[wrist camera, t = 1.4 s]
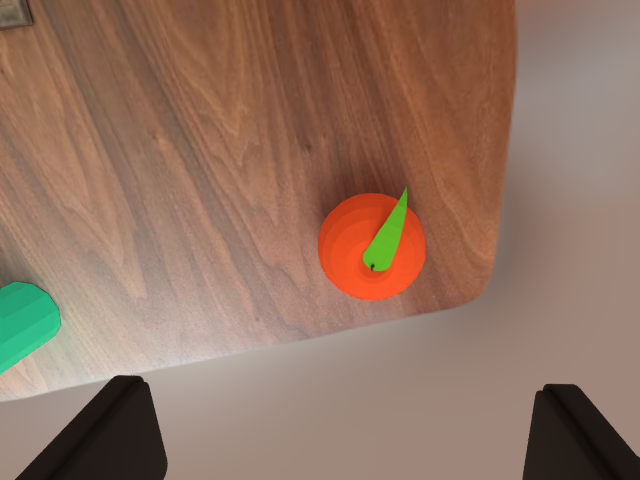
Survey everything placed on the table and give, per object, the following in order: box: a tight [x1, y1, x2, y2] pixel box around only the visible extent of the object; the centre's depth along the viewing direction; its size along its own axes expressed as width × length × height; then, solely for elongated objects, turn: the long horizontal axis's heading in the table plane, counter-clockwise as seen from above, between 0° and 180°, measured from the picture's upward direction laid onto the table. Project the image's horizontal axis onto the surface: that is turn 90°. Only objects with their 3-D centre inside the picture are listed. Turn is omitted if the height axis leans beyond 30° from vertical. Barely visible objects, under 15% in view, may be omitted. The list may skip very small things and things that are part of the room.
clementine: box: [318, 186, 426, 300], centre depth 23 cm, size 8×7×7 cm
